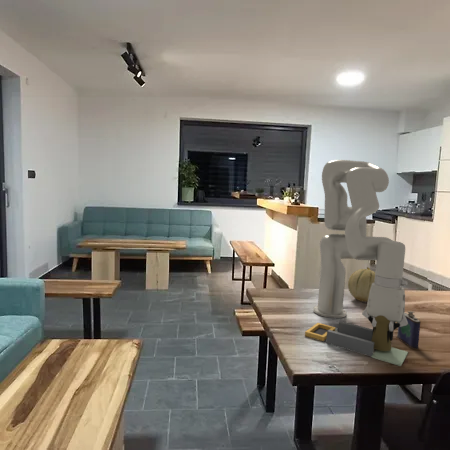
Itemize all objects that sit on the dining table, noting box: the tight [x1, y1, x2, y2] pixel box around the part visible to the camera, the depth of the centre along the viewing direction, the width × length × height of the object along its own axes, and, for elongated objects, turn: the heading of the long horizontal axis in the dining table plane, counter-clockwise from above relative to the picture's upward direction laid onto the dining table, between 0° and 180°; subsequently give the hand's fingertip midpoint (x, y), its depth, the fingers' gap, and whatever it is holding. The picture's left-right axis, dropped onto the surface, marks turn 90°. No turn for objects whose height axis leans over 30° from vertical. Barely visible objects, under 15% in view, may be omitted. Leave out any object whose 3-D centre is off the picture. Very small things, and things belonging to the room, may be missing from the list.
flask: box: [396, 310, 421, 350], centre depth 119 cm, size 9×3×11 cm, turn 8°
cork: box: [371, 315, 392, 351], centre depth 112 cm, size 6×6×11 cm
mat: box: [371, 346, 409, 367], centre depth 110 cm, size 11×8×1 cm
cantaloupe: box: [347, 266, 375, 303], centre depth 163 cm, size 15×15×15 cm
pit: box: [304, 322, 337, 342], centre depth 123 cm, size 11×6×2 cm, turn 144°
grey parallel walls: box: [325, 320, 375, 358], centre depth 117 cm, size 12×14×4 cm
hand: (382, 339), depth 112 cm, fingers closed on cork, 2 cm apart
